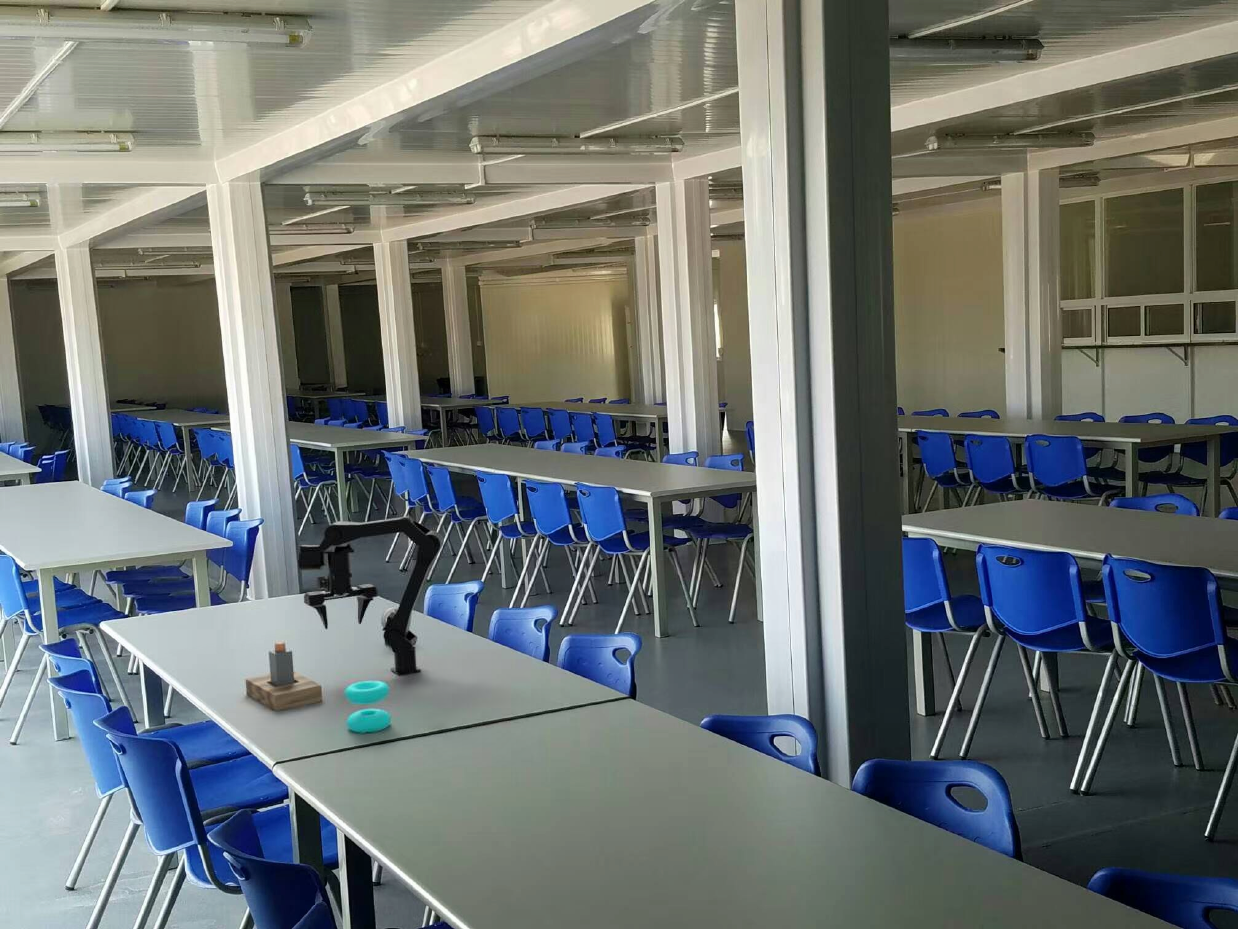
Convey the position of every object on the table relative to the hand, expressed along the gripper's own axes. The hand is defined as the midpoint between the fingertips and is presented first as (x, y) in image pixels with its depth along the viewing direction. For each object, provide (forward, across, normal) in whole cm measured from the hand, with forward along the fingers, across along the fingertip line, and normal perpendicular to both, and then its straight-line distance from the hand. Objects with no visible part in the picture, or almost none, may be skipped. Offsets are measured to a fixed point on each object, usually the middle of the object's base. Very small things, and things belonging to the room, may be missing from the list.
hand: (343, 626), depth 329 cm
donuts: (+13, +10, +49) cm, 52 cm away
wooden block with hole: (+13, +20, +12) cm, 27 cm away
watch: (+13, -22, -22) cm, 34 cm away
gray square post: (+12, +20, +12) cm, 26 cm away
